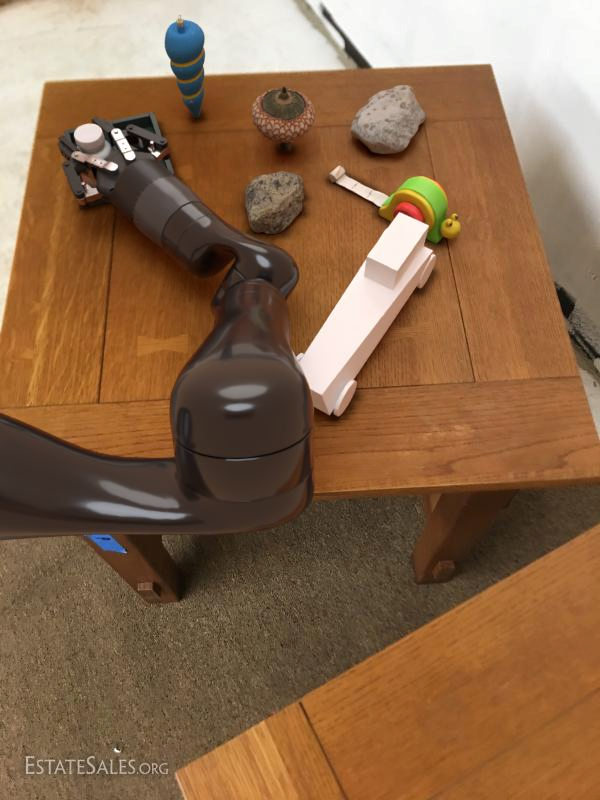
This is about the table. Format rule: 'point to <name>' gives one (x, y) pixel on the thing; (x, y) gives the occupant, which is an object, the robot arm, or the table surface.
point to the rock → (273, 201)
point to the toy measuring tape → (409, 203)
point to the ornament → (187, 61)
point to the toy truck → (366, 312)
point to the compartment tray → (142, 121)
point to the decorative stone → (388, 120)
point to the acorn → (283, 116)
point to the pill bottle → (92, 144)
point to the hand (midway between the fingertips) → (79, 133)
